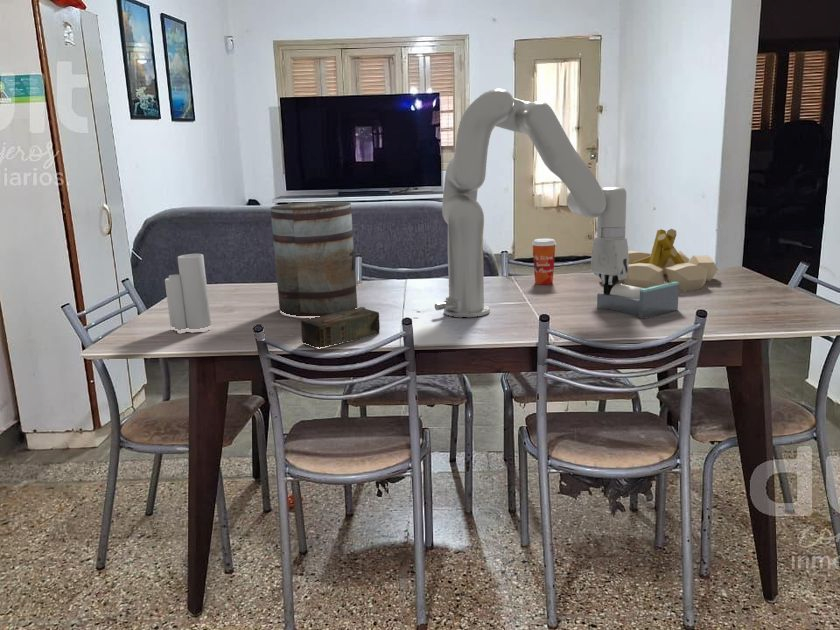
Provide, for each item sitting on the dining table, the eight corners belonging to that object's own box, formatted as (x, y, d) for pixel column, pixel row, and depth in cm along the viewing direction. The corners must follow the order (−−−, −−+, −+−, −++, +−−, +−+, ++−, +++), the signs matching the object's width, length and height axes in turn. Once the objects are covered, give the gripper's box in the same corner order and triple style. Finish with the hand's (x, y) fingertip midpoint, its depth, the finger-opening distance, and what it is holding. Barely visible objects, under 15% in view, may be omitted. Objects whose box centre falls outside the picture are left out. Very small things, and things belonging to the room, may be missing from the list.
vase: (215, 326, 195) (207, 253, 190) (205, 333, 188) (196, 258, 183) (175, 327, 196) (165, 254, 191) (163, 334, 189) (153, 259, 184)
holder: (642, 319, 185) (643, 290, 183) (595, 308, 197) (596, 281, 196) (677, 310, 192) (679, 282, 190) (630, 300, 205) (631, 273, 203)
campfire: (700, 297, 206) (703, 238, 202) (586, 288, 224) (587, 233, 220) (724, 275, 234) (727, 222, 230) (621, 268, 252) (622, 219, 248)
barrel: (369, 301, 217) (363, 201, 209) (338, 320, 196) (330, 209, 189) (301, 299, 224) (293, 201, 216) (265, 317, 203) (255, 210, 196)
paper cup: (529, 285, 230) (529, 241, 226) (534, 280, 237) (533, 238, 233) (554, 285, 227) (554, 241, 224) (557, 281, 234) (558, 238, 231)
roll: (653, 309, 194) (654, 287, 192) (639, 313, 190) (640, 290, 189) (623, 303, 202) (624, 282, 201) (608, 306, 199) (609, 285, 197)
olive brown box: (382, 334, 181) (380, 309, 180) (319, 352, 169) (317, 325, 167) (362, 329, 187) (360, 304, 185) (300, 345, 174) (298, 319, 173)
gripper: (581, 231, 202) (580, 295, 206) (623, 236, 190) (621, 304, 194) (599, 229, 206) (598, 291, 210) (642, 233, 194) (639, 300, 198)
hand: (609, 297), depth 202 cm, fingers closed
